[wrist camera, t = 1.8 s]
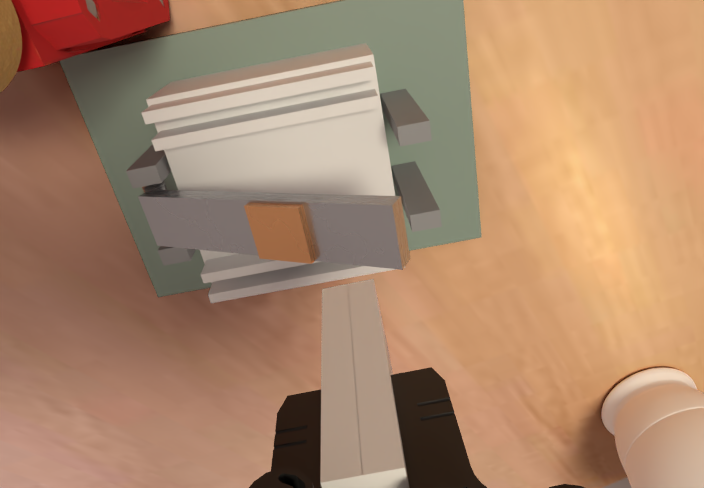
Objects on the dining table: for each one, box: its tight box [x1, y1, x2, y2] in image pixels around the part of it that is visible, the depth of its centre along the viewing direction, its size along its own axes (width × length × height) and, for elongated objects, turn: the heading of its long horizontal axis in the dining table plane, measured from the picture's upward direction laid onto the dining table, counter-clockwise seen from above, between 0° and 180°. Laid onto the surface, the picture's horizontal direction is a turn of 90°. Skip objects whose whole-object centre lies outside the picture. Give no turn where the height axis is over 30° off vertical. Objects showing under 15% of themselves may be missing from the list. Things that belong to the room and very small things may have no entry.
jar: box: [601, 367, 704, 488], centre depth 41 cm, size 11×10×15 cm
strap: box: [138, 181, 410, 270], centre depth 26 cm, size 15×3×2 cm
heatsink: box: [60, 0, 481, 303], centre depth 31 cm, size 24×17×9 cm
